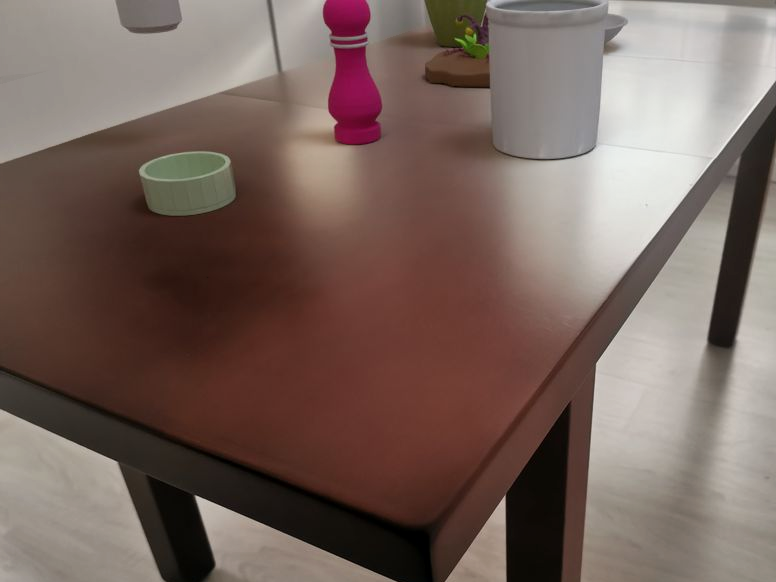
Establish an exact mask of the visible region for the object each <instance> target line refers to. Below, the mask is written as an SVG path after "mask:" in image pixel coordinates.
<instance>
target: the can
mask: <svg viewBox="0 0 776 582" xmlns="http://www.w3.org/2000/svg"><path fill="white" fill-rule="evenodd" d="M114 1H115V4H116V5H115V6H116V9H117V15H118V18H119V22H120V25H121V27H123V28H125V29H126V30H127V31H128V32H129V33H132V34H138V35H139V34H140V35H141V34H143V35H150V34H161V33H167V32H171V31H174V30H177V29H178V26H179V25H180V24H181V22H182V21H183V16H182V10H181V6H180V0H114Z"/></svg>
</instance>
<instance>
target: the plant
mask: <svg viewBox="0 0 776 582" xmlns="http://www.w3.org/2000/svg"><path fill="white" fill-rule="evenodd" d="M463 17H465V18H467V19H469V20H471V22H472V25H470V26H468V27H467V28H466V31H465V32H466V34H467V35H465V38H466V39H467V42H468V44H469V45H468V44H467V43H466V42H465V41H463V40H461V39H457V38H455V40H456V41H457V42H459V43H460V44H461V45H462V47H457V48H456V47H452V49H451V50H450V49H445V51H441V52H439V53H437V54H436V55H434V56H433V57H432V58H431V59H430V60H428V61H426V62H425V63H424V74H425V79H426V80H428V81H429V83H430V84H441V83H444V84H443V85H447V84H448V86H450V85H451V87H454V86H457V87H456V88H490V62H489V19H488V18H487V15H486V11H485V13H484V17H483V20H482V24H481V26H480V25H479V24H478V22H477V20H475V19H474V18H473V17H471V16H470V15H468V14H463V15H461V16H459V17H458V18H457V19H456V25H458V26H461V25H462V24H463ZM474 27H475V32H476V33H475V34H474V36H473V38H472V37H470V35H472V34H473V31H474Z"/></svg>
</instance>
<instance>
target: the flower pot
mask: <svg viewBox="0 0 776 582" xmlns="http://www.w3.org/2000/svg"><path fill="white" fill-rule="evenodd" d="M423 1H424V4H425V8H426V11H427V14H428V19H429V22H430V24H431V27H432V31H433V34H434V36H435V38H436V40H437V43H438V45H440V46H442V47H446V48H447V47H448V48H463V47H462V45H461V44H460V43H459V42H457V41H456V40H455V38H457V39H461V40H463V41H465V42H466V43H467V44H468V42H467V39H466V38H465V35H467V34H466V32H465V31H466V28H467V27H468V26H470V25H472V22H471V20H469V19H467V18H465V17H463V24H462V25H461V26H458V25H456V19H457V18H458V17H459V16H461V15H463V14H468V15H470V16H471V17H473V18H474V19H475V20H477V22H478V24H479V25H480V26H481V27H482V23H483V19H484V15H485V12H486V3H487V2H488V0H423ZM475 33H476V32H475V27H474V31H473V34H472V35H470V37H472V38H473V36H474V34H475ZM468 45H469V44H468Z"/></svg>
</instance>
